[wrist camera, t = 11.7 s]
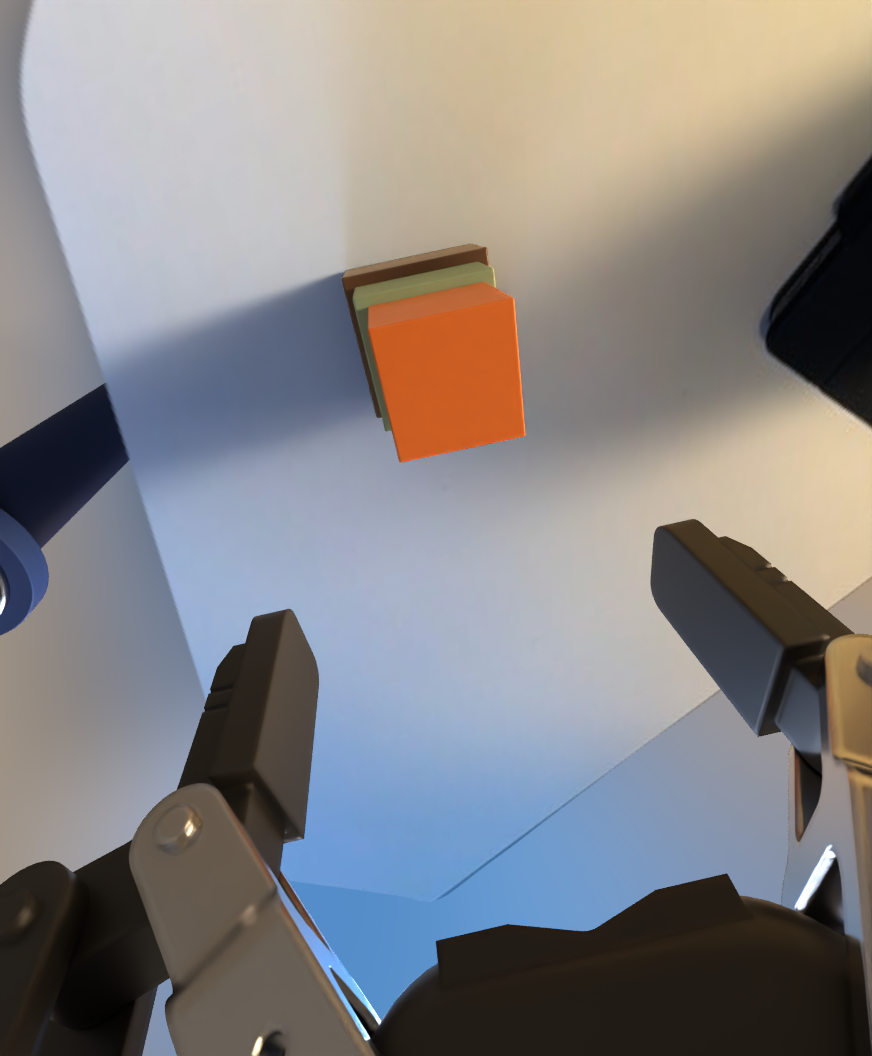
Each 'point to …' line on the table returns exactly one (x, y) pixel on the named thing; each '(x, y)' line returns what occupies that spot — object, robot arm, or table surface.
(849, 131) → the table surface
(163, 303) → the table surface
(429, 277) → the green block
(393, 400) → the toy cube
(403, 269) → the walnut block
